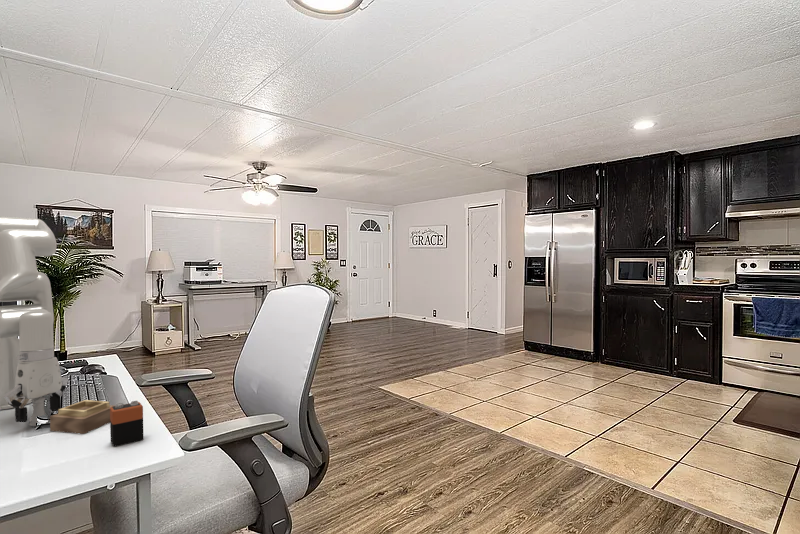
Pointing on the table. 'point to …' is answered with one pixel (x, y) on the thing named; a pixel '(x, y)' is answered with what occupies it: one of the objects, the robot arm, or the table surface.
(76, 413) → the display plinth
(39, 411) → the rook chess piece
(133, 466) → the table surface
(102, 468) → the table surface
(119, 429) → the battery
